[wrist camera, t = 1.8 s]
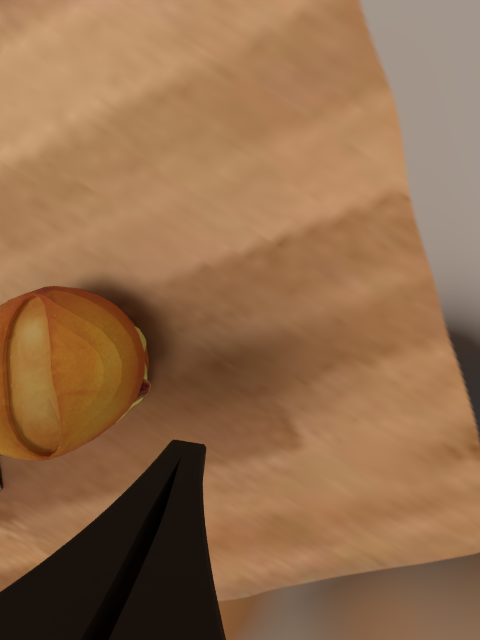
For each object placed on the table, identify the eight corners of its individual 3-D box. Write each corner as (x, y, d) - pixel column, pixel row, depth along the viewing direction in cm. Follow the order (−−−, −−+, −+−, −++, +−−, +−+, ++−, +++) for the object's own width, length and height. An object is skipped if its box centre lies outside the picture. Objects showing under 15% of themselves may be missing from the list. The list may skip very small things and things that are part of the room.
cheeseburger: (3, 344, 20) (-207, 391, 10) (109, 260, 20) (7, 223, 10) (93, 434, 21) (-12, 553, 11) (190, 353, 21) (171, 400, 11)
